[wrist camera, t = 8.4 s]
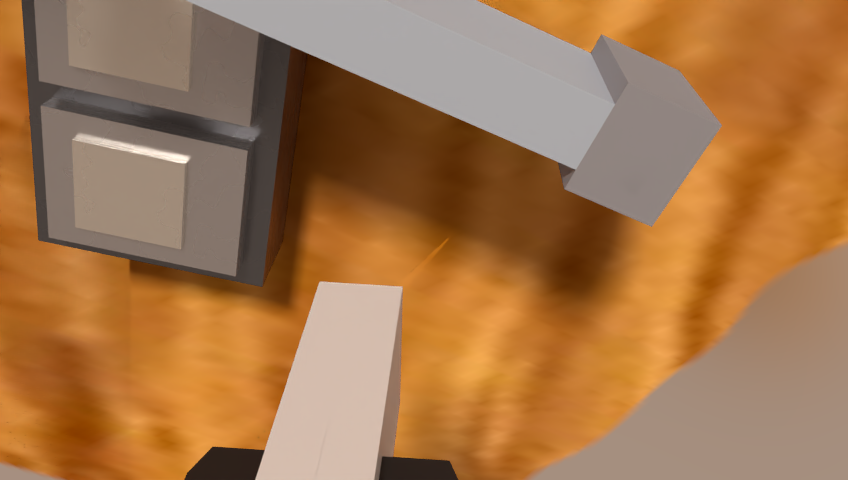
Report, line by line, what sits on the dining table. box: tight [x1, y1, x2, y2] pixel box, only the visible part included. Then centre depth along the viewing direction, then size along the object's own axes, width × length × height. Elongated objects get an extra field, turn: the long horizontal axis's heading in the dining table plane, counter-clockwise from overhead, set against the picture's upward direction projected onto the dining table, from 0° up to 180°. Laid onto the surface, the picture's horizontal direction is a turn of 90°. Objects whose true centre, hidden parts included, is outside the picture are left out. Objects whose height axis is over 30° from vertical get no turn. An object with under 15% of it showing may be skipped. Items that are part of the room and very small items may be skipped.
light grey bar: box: [186, 0, 722, 227], centre depth 22 cm, size 17×4×5 cm, turn 67°
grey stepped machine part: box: [22, 0, 307, 287], centre depth 26 cm, size 10×18×12 cm, turn 168°
